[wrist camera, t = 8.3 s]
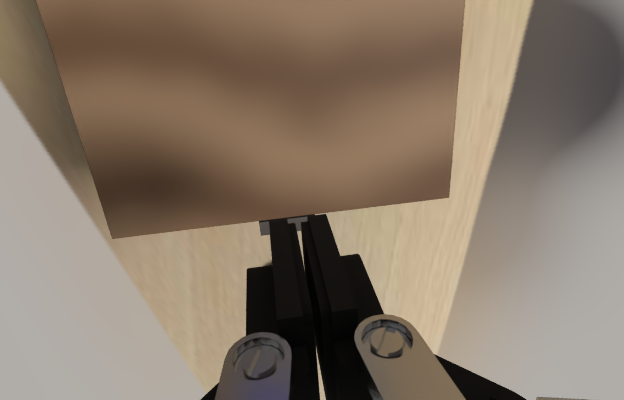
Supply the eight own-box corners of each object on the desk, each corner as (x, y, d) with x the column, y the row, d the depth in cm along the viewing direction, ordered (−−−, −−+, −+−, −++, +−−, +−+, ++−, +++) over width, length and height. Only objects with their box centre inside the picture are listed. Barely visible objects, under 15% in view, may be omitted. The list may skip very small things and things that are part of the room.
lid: (14, -142, 16) (-16, -162, 14) (456, -159, 17) (479, -179, 16) (127, 234, 23) (117, 253, 21) (433, 197, 24) (447, 212, 23)
